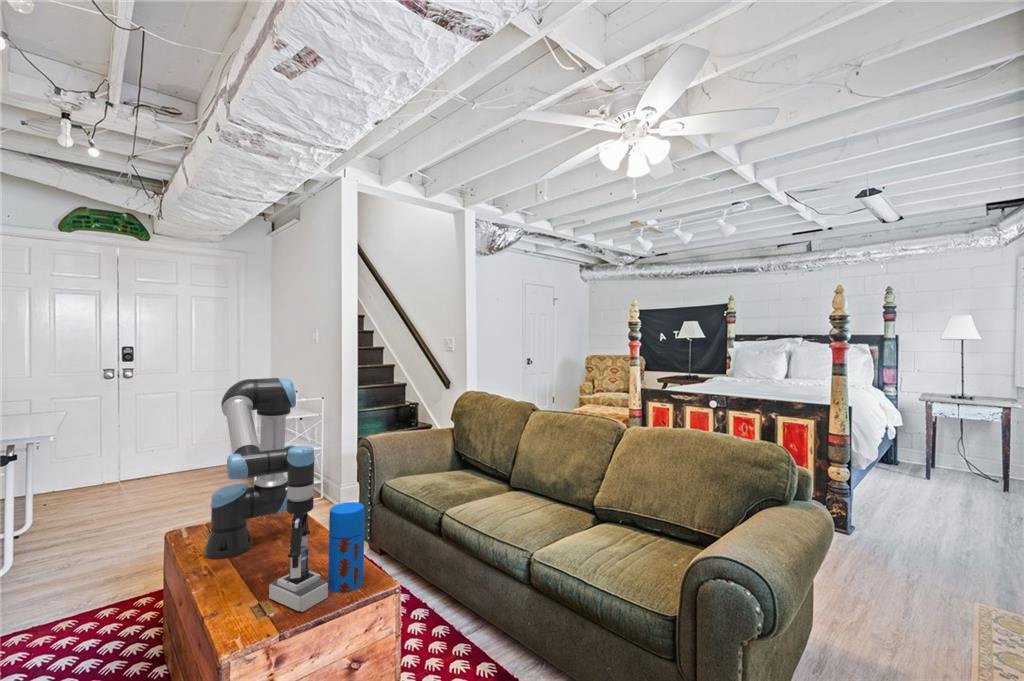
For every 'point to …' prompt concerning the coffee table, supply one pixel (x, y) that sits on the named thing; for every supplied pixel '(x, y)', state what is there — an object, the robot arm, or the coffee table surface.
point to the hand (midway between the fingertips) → (299, 566)
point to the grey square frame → (299, 591)
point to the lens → (302, 566)
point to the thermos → (346, 547)
